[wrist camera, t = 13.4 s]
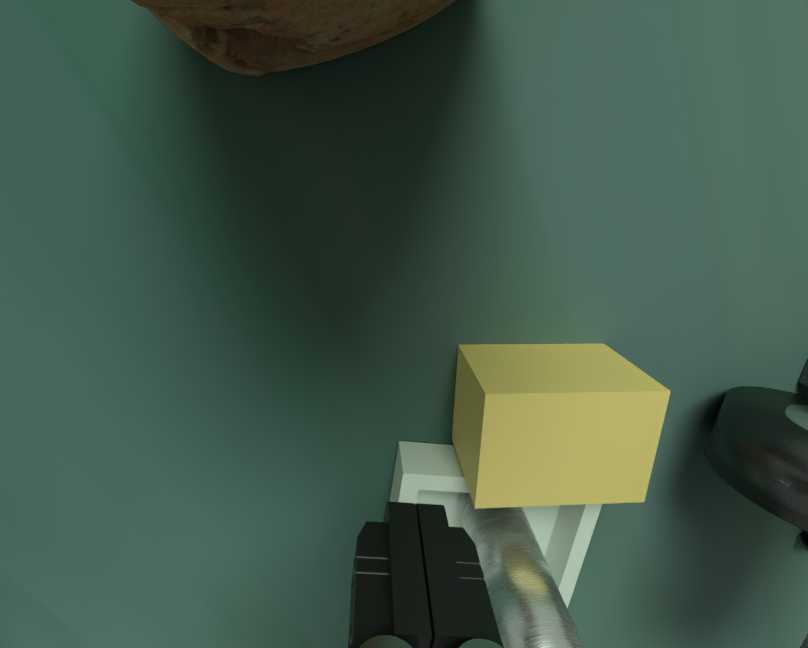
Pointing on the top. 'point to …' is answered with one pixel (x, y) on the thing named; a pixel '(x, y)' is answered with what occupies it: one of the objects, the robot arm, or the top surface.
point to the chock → (554, 424)
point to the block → (286, 28)
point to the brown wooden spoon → (803, 540)
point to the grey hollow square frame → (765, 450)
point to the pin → (518, 578)
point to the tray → (552, 525)
